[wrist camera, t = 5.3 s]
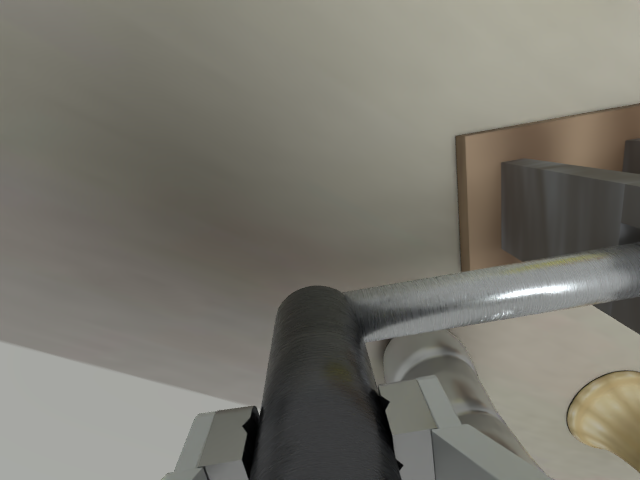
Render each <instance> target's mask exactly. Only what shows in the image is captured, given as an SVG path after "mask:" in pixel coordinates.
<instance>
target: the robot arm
mask: <svg viewBox="0 0 640 480" xmlns="http://www.w3.org/2000/svg"><path fill="white" fill-rule="evenodd" d="M378 394H379V399H380V403H381V407H382V410H383V414H384V417H385V419H386V423H387V427H388V433H389V436H390V440H391V444H392V447H393V451H394V455H395V458H396V460H397V464H398V468H399V471H400V475H401V479H402V480H554V479H553V478H551V477H550V476H548V475H546V474H545V473H543V472H542V471H540V470H539V469H537V468H536V467H534V466H533V465H531V464H529V463H528V462H526V461H525V460H523V459H522V458H520V457H519V456H517V455H516V454H514V453H512V452H511V451H509V450H508V449H506V448H505V447H503V446H502V445H500V444H499V443H497V442H495V441H494V440H492V439H491V438H489V437H488V436H486V435H485V434H483V433H482V432H480V431H478V430H477V429H475V428H474V427H472V426H471V425H469V424H464V425H462V424H461V422H460V420H459V418H458V416H457V414H456V412H455V410H454V409H453V407H452V405H451V403H450V401H449V399H448V397H447V395H446V393H445V392H444V390H443V388H442V386H441V384H440V382H439V380H438V378H437V377H436V376H435V375H429V376H424V377H418V378H415V379H409V380H403V381H397V382H392V383H386V384H380V385H378ZM259 417H260V416H259V413H258V410H257V407H256V406H248V407H241V408H234V409H227V410H219V411H217V412H209V413H201V414H198V415H197V416H196V418H195V419H194V422H193V424H192V427H191V429H190V432H189V434H188V437H187V439H186V442H185V445H184V447H183V450H182V452H181V455H180V457H179V460H178V462H177V465H176V467H175V470H174V472H171V473H167V474H166V475H165V476H164V477H163V478H162V479H161V480H249V478H250V472H251V466H252V460H253V454H254V448H255V442H256V436H257V430H258V423H259Z"/></svg>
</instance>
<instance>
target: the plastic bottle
mask: <svg viewBox="0 0 640 480" xmlns="http://www.w3.org/2000/svg"><path fill="white" fill-rule="evenodd" d="M383 366H384V379H385V382H386V383H392V382H397V381H403V380H409V379H415V378H418V377H424V376H429V375H435V376H436V377H437V378H438V380H439V382H440V384H441V386H442V388H443V390H444V392H445V393H446V395H447V397H448V399H449V401H450V403H451V405H452V407H453V409H454V410H455V412H456V414H457V416H458V418H459V420H460V422H461V424H462V425H464V424H469V425H471V426H472V427H474V428H475V429H477V430H478V431H480V432H482V433H483V434H485V435H486V436H488V437H489V438H491V439H492V440H494V441H495V442H497V443H499V444H500V445H502V446H503V447H505V448H506V449H508V450H509V451H511V452H512V453H514V454H516V455H517V456H519V457H520V458H522V459H523V460H525V461H526V462H528V463H529V464H531V465H533V466H534V467H536V468H537V469H539V470H540V471H542V472H543V473H545V472H544V471H543V470H542V469H541V468H540V467H539V466H538V464H537V463H536V462H535V461H534V460H533V459H532V458H531V456H530V455H529V454H528V453H527V451H526V450H525V449H524V447H523V446H522V445H521V443H520V442H519V441H518V439H517V438H516V436H515V435H514V434H513V432H512V431H511V430H510V429H509V427H508V426H507V425H506V423H505V422H504V420H503V419H502V417H501V416H500V415H499V413H498V412H497V411H496V409H495V407H494V405H493V403H492V402H491V400H490V398H489V396H488V394H487V392H486V391H485V389H484V387H483V385H482V383H481V381H480V380H479V378H478V375H477V372H476V369H475V366H474V364H473V362H472V360H471V358H470V356H469V354H468V352H467V350H466V347H465V346H464V345H463V344H462V342H461V341H460V340H459V339H457V338H456V337H455V336H454V335H453V334H452V333H451V332H449V331H448V330H447V329H443V330H437V331H431V332H425V333H419V334H413V335H407V336H401V337H395V338H392V339H391V341H390V342H389V344H388V345H387V347H386V350H385V352H384V358H383Z"/></svg>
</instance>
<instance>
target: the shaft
mask: <svg viewBox="0 0 640 480" xmlns="http://www.w3.org/2000/svg"><path fill="white" fill-rule="evenodd" d="M635 297H640V242H637V243H631V244H625V245H619V246H613V247H607V248H601V249H595V250H589V251H584V252H578V253H572V254H566V255H560V256H554V257H548V258H542V259H537V260H531V261H525V262H519V263H513V264H507V265H501V266H495V267H489V268H484V269H478V270H472V271H466V272H460V273H454V274H448V275H442V276H436V277H431V278H425V279H419V280H413V281H407V282H401V283H395V284H389V285H383V286H378V287H372V288H366V289H360V290H354V291H348V292H342V293H341V292H340V291H338V290H336V289H333V288H330V287H326V286H309V287H305V288H302V289H299V290H297V291H295V292H293V293H292V294H290V295H289V296H288V297H287V298H286V299H285V300H284V301H283V302H282V304H281V305H280V307H279V309H278V311H277V315H276V320H275V326H274V332H273V338H272V344H271V350H270V357H269V363H268V369H267V375H266V381H265V387H264V393H263V399H262V405H261V411H260V417H259V423H258V430H257V436H256V442H255V448H254V454H253V460H252V466H251V472H250V478H249V480H402V479H401V475H400V471H399V468H398V464H397V460H396V458H395V455H394V451H393V447H392V444H391V440H390V436H389V433H388V427H387V423H386V419H385V417H384V414H383V410H382V407H381V403H380V399H379V394H378V390H377V386H376V382H375V379H374V375H373V371H372V368H371V364H370V360H369V356H368V353H367V349H366V345H365V342H371V341H377V340H383V339H389V338H395V337H401V336H407V335H413V334H419V333H425V332H431V331H437V330H443V329H449V328H455V327H461V326H467V325H473V324H479V323H485V322H491V321H497V320H503V319H509V318H515V317H521V316H527V315H533V314H539V313H545V312H551V311H557V310H563V309H569V308H575V307H581V306H587V305H593V304H599V303H605V302H611V301H617V300H623V299H629V298H635Z"/></svg>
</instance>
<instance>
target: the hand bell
mask: <svg viewBox="0 0 640 480" xmlns="http://www.w3.org/2000/svg"><path fill="white" fill-rule="evenodd" d="M567 422H568V427H569V429H570V432H571V433H572V435H573V436H574V437H575V438H576V439H577V440H579V441H580V442H582V443H584V444H586V445H589V446H591V447H594V448H600V449H606V450H608V451H610V452H612V453H614V454H615V455H617V456H619V457H620V458H622V459H623V460H624V461H626V462H627V463H628V464H630V465H631V466H632V467H633V468H634V469H636V470H637V471H638V472H639V473H640V373H639V372H634V371H620V372H613V373H610V374H607V375H604V376H602V377H600V378H598V379H596V380H594V381H592V382H591V383H589V384H588V385H587V386H585V387H584V388H583V389H582V390H581V391H580V392H579V393H578V395H577V396H576V397H575V399H574V400H573V402H572V404H571V405H570V408H569V411H568V416H567Z"/></svg>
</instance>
